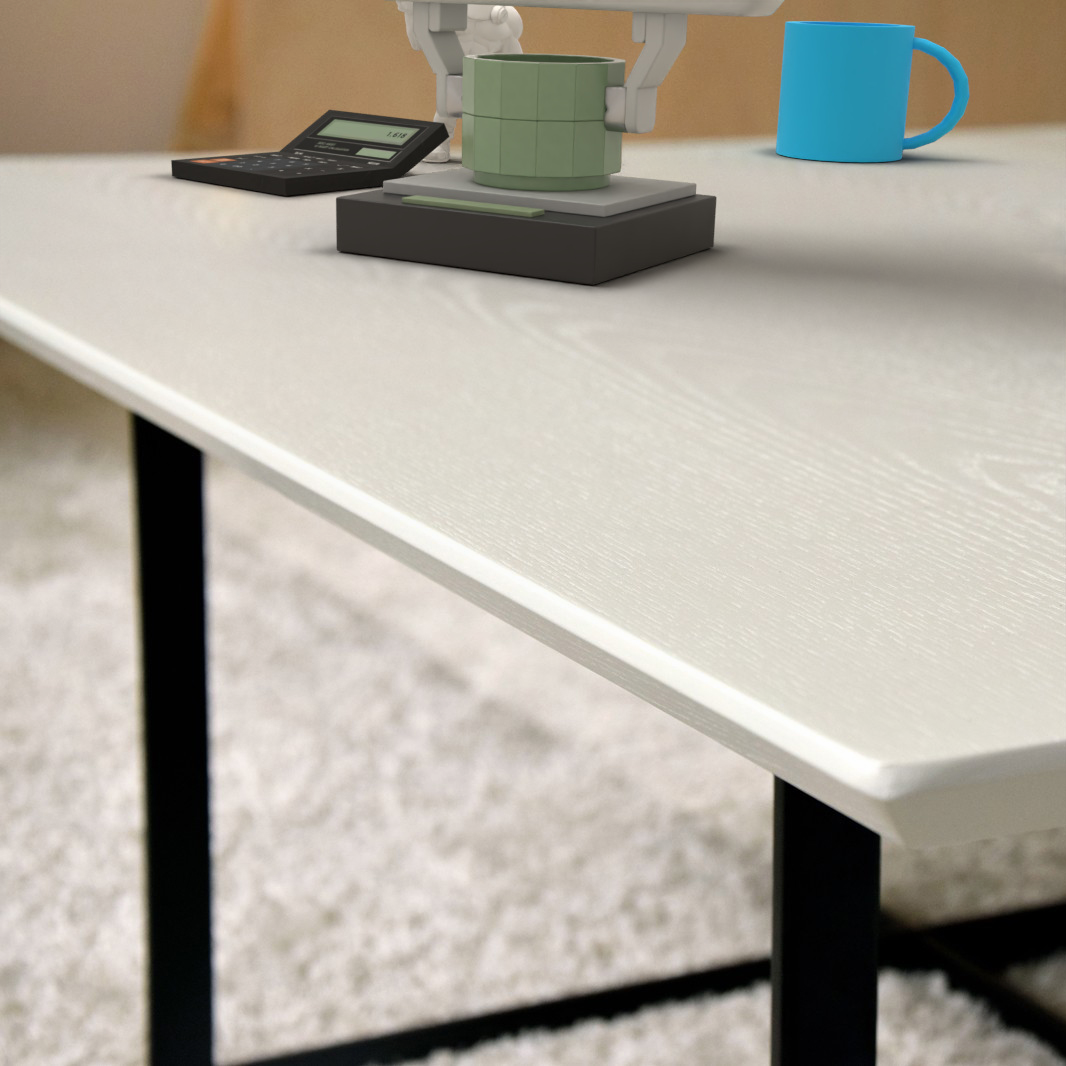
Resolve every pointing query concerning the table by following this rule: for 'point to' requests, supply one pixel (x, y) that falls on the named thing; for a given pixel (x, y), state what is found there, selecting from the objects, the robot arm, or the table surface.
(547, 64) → the pot
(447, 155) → the figurine
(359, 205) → the scale
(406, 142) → the calculator
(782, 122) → the mug
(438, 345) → the table surface
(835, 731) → the table surface
